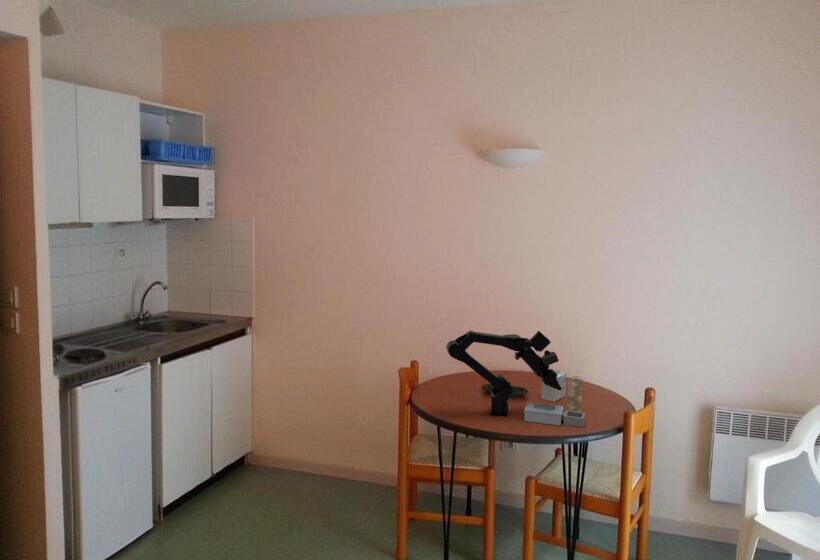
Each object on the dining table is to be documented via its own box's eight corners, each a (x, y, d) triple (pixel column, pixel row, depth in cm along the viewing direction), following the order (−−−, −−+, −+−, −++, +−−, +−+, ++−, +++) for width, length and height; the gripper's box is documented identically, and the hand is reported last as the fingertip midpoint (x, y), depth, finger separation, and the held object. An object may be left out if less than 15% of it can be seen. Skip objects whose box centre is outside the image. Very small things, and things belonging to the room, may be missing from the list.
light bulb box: (552, 393, 296) (553, 370, 294) (565, 396, 292) (567, 372, 290) (540, 398, 288) (541, 374, 286) (554, 402, 283) (556, 377, 282)
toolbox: (523, 421, 259) (524, 405, 258) (527, 412, 268) (528, 398, 268) (583, 428, 252) (584, 413, 251) (584, 419, 261) (585, 404, 261)
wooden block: (570, 414, 267) (572, 379, 265) (566, 411, 271) (568, 376, 269) (580, 414, 267) (582, 379, 265) (577, 411, 272) (579, 376, 270)
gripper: (553, 351, 256) (579, 379, 258) (540, 340, 274) (565, 366, 276) (532, 371, 256) (558, 398, 258) (521, 358, 275) (545, 384, 277)
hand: (557, 386), depth 267 cm, fingers open, 9 cm apart
